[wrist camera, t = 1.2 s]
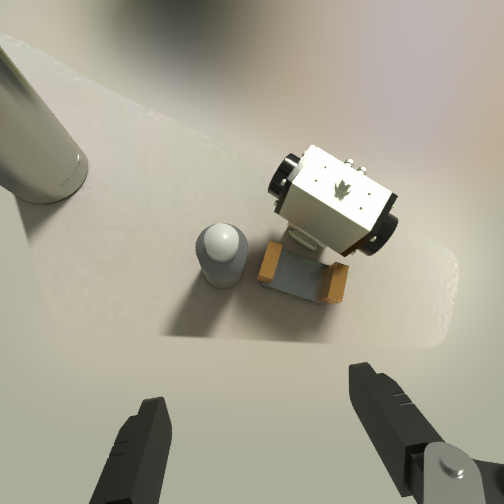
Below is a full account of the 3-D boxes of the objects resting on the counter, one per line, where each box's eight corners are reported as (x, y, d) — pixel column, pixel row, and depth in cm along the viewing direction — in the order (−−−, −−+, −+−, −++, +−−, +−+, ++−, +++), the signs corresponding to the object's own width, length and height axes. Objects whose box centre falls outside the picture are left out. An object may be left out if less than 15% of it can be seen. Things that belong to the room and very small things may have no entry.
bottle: (197, 281, 30) (183, 256, 21) (211, 245, 31) (204, 206, 22) (236, 294, 30) (239, 274, 20) (248, 257, 31) (256, 223, 22)
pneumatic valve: (338, 275, 32) (400, 240, 20) (258, 222, 33) (273, 162, 22) (358, 240, 33) (425, 190, 22) (281, 191, 35) (307, 120, 23)
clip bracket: (254, 283, 30) (258, 277, 27) (265, 248, 32) (270, 238, 29) (329, 308, 30) (341, 304, 27) (336, 271, 32) (349, 263, 28)
